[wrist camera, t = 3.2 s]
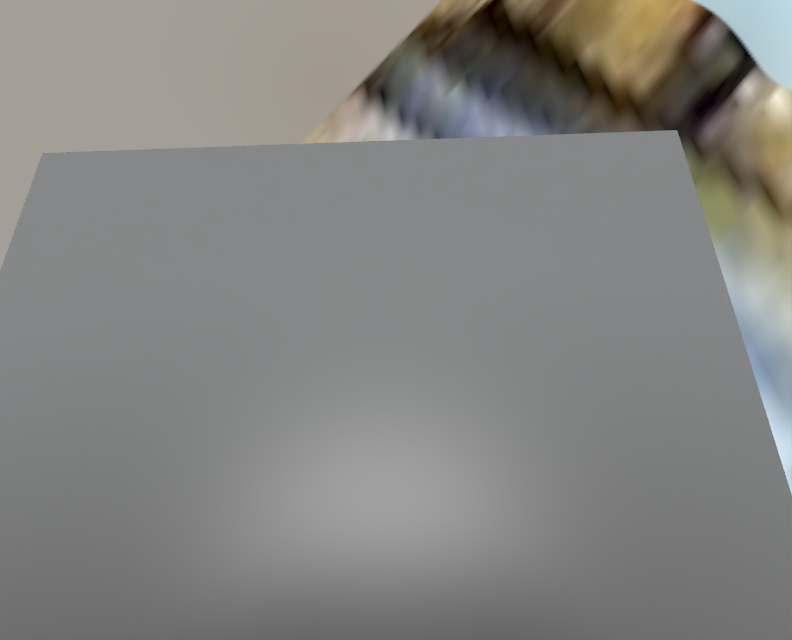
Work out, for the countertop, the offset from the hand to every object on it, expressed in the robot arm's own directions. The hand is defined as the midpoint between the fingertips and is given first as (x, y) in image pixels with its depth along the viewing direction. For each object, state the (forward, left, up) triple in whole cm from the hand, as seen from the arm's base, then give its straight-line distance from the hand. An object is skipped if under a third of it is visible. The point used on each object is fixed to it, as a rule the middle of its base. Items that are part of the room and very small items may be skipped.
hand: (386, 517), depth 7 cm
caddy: (0, 0, -8) cm, 8 cm away
